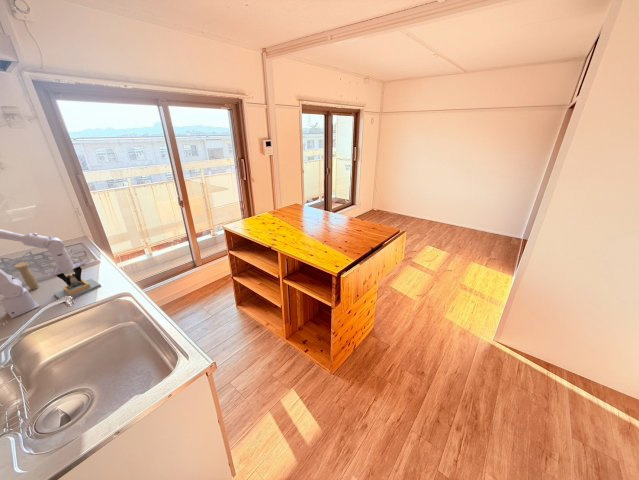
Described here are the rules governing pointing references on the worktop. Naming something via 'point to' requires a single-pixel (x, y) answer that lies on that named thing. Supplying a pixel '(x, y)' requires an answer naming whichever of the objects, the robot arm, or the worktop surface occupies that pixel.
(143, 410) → the worktop surface
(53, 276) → the robot arm
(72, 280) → the valve stub
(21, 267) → the handle
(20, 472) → the worktop surface
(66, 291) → the fitting base
